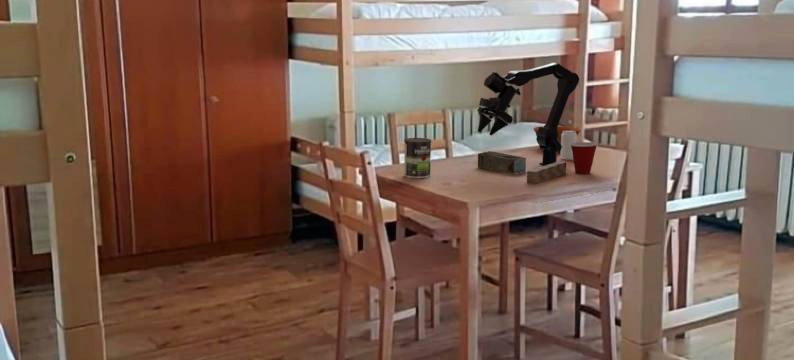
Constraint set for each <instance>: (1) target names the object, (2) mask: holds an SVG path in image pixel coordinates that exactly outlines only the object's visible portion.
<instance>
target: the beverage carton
mask: <svg viewBox="0 0 794 360" xmlns="http://www.w3.org/2000/svg"><path fill="white" fill-rule="evenodd" d="M526 163H527V158H526V157H523V156H519V155H513V154H512V155H511V154H509V153H508V154H507V153H502V152H498V151H493V150H492V151H489V150H488V151H484V152H480V153H477V168H479V169H483V170H490V171H495V172H500V173H504V174H505V173H506V174H509V175H510V174H511V175H518V174H522V173H525V172H527V170H526Z"/></svg>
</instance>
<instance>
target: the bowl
mask: <svg viewBox="0 0 794 360" xmlns="http://www.w3.org/2000/svg"><path fill="white" fill-rule="evenodd" d="M543 126H544V125H543ZM543 126H534V127H533V131H534V133H535V135H536V134H537V133H538V129H539V127H543ZM557 130H558V138H557V141H558V142H559V143H560V144H561V137H562V133H563V131H565V130H572V131H576V134H577V136H578V135H579V134H580V132H581V129H580V128H578V127H574V126H568V125H567V126H566V125H558V128H557ZM537 144H538V143H537ZM538 146H539V144H538Z"/></svg>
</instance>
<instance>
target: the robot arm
mask: <svg viewBox="0 0 794 360" xmlns="http://www.w3.org/2000/svg"><path fill="white" fill-rule="evenodd" d="M550 75H553V77H554V78H556V79H557V83H556V87H557V92H556V96H555V98H554V102H553V103H552V107H551V110H550V112H549V115H548V117H547V120H546V123H545V124H544V125H543V127H541V126H538V127H539V129H538V133H537V134H536V133H535V136H536V138H535V139H536V140H535V141H536V142H537V144H539V145H538V147H539V149H541V150H542V162H539V165H541V166H545V165H549V164H552V163H555V162H558V159H557V158H558V152H561V148H562V146H561V144H560V143H559V142H558V141H557V138H558V130H557V128H558V126H559V124H560V122H561V119H562V117H563V113H564V111H565V108H566V105H567V103H568V100H569V97H570V95H571V94H572V93H573V92H574V91H575V90H576V88H577V87H578V86H579V85H578V84H579V82H580V77H579V75H578V73H576V72H573V71H571V70H569V69H568V68H566V67H564V66H563V65H561V64H560V63H558V62H557V63H556V62H550V63H548V64H544V65H541V66H538V67H534V68H531V69H530V68H529V69H525V70H522V69H520V70H519V69H517V70H510V71H508V73H507V74H506V75H504V76H501V74H499V73H498V72H496V71H492V73H490V75H488V76H487V77H486V78H485V80H484V82H483V85H484V86H485V87H486V88H488V90H490V91H491V92H493V93H494V94H497V96H495V97H489V98H483V97H480V100H479V103H478V104H479V105H478V106H479V107H478V109H477V114H478V116H479V124H478V128H477V132H478V133H481V132H482V131H483V130H484V129H486V127H487V126H489V124H490V123H491V122H492V120H494V122H493V124H492V126H491V129H490V131H489V133H488V134H489V136H493V135H495V134H496V133H497V132H499V131H500V130H501V129H503V128H505V127H506V126H509V125H510V124H512V122H513V121H514V118H513V116H512V115H510V114H509V113H507V112H506V111H507V109H508V108H509V109H511V107H512V106H511V102H512V100H513V99H514V97H515V95H516V96H521V91H520V88H519V87H522V86H525V85H526V84H528V83H529V82H530V81H532V80H536V79H540V78H542V77H546V76H550ZM514 86H515V87H514ZM517 87H518V88H517Z"/></svg>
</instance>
